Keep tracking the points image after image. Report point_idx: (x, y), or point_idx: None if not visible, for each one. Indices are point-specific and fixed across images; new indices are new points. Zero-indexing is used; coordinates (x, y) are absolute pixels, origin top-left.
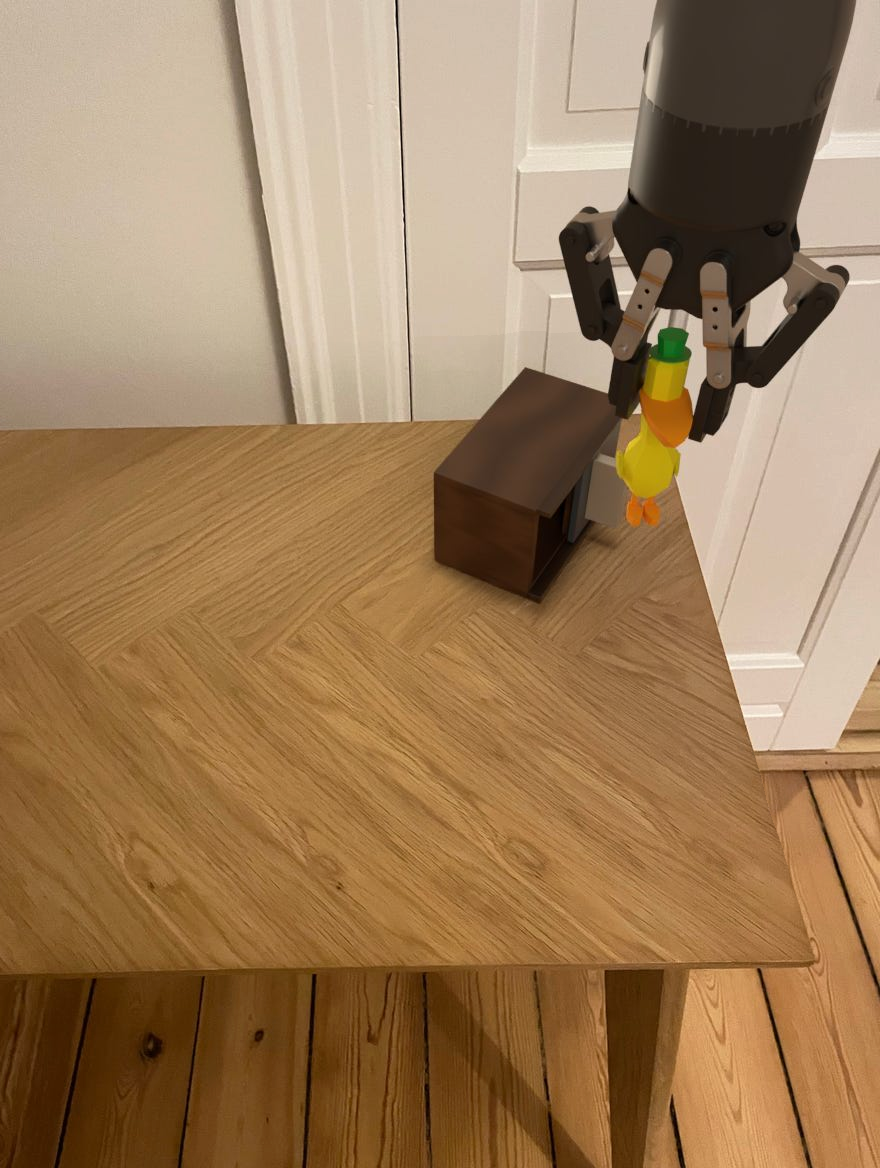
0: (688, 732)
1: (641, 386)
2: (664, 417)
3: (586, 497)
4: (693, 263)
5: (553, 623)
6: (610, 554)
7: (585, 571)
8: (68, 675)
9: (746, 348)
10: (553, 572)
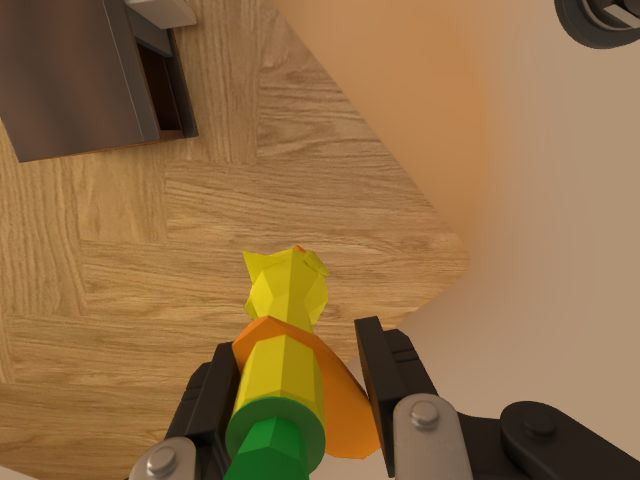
0: (361, 172)
1: (238, 372)
2: (329, 431)
3: (149, 23)
4: None
5: (221, 146)
6: (206, 37)
7: (202, 74)
8: (9, 397)
9: (479, 475)
10: (184, 101)
